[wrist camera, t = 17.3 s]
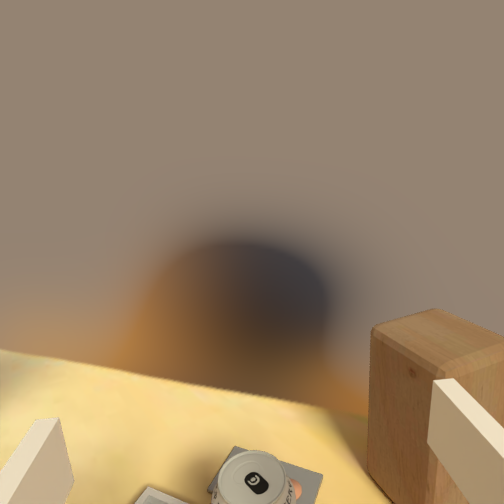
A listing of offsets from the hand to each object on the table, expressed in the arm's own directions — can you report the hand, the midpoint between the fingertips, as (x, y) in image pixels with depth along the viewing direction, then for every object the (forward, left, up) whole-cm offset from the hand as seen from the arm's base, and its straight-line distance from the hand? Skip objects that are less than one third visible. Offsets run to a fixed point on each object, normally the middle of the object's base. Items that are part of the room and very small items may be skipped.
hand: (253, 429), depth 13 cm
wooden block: (+7, +28, -29) cm, 41 cm away
